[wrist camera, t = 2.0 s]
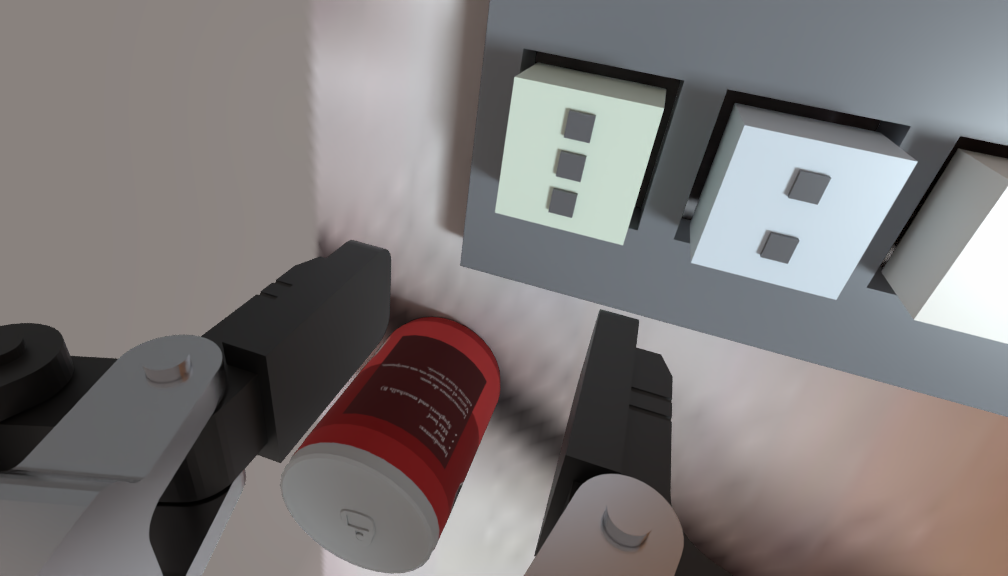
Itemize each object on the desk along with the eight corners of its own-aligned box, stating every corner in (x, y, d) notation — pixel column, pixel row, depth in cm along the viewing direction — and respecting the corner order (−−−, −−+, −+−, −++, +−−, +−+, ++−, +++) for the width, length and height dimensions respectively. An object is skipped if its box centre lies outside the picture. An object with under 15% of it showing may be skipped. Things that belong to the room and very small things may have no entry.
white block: (666, 88, 20) (664, 109, 17) (630, 210, 22) (622, 247, 19) (537, 62, 20) (513, 77, 17) (518, 183, 23) (493, 214, 20)
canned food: (411, 415, 36) (318, 566, 26) (371, 315, 32) (248, 449, 23) (517, 417, 33) (455, 586, 24) (486, 308, 29) (400, 458, 20)
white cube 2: (880, 132, 18) (920, 163, 15) (814, 255, 21) (837, 302, 18) (734, 102, 19) (745, 126, 16) (689, 225, 22) (691, 265, 19)
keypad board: (1273, 39, 16) (1362, 48, 14) (981, 378, 23) (1011, 417, 21) (518, -82, 20) (499, -88, 18) (476, 243, 27) (460, 265, 25)
